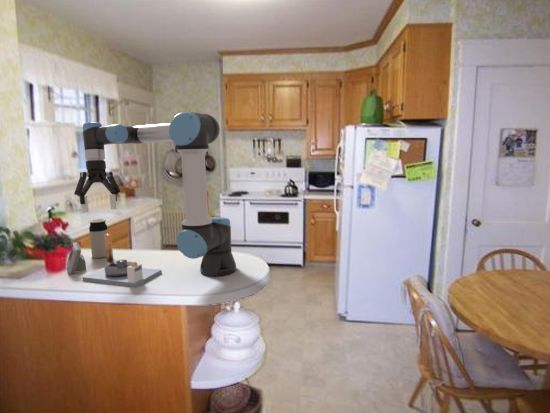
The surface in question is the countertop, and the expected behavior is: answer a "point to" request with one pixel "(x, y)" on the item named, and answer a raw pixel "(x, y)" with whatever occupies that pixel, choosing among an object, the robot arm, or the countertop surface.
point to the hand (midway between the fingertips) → (100, 210)
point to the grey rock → (76, 260)
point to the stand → (133, 277)
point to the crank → (114, 261)
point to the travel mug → (98, 237)
